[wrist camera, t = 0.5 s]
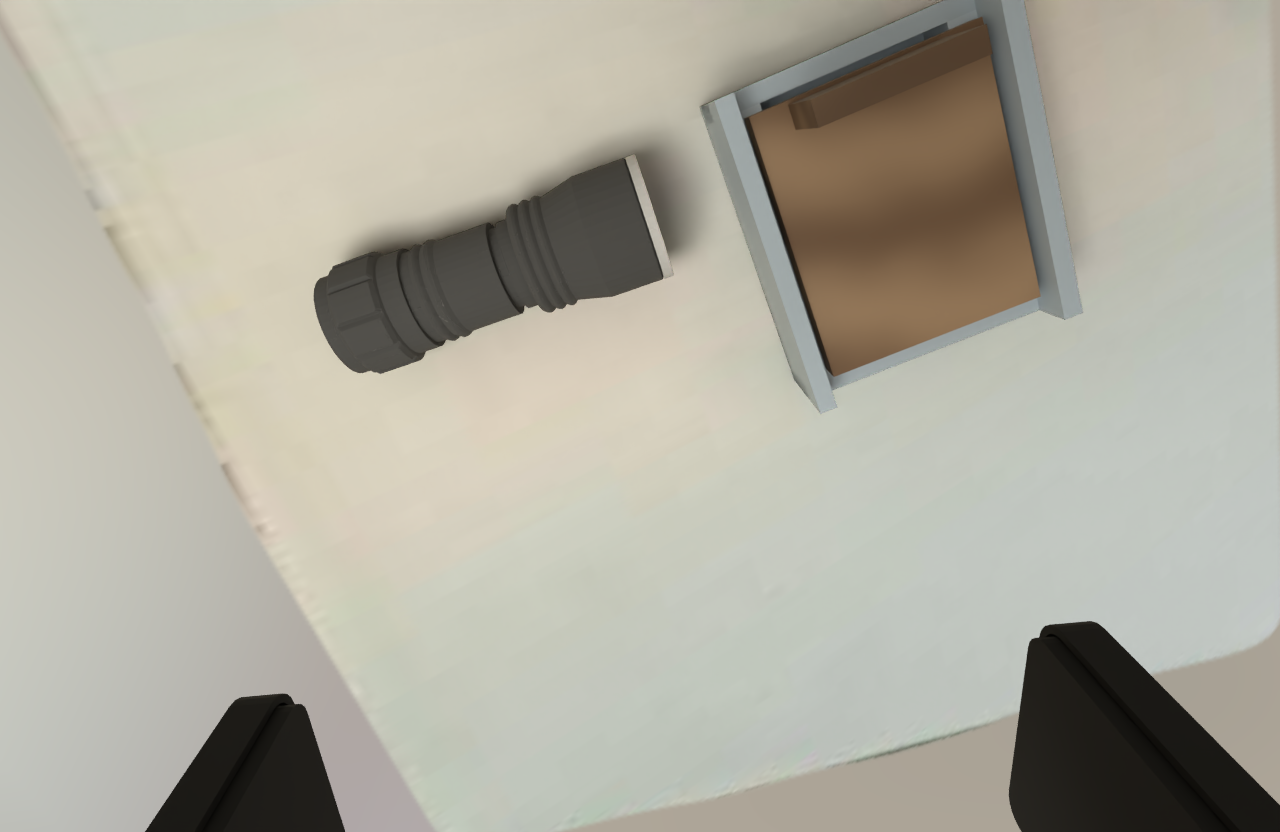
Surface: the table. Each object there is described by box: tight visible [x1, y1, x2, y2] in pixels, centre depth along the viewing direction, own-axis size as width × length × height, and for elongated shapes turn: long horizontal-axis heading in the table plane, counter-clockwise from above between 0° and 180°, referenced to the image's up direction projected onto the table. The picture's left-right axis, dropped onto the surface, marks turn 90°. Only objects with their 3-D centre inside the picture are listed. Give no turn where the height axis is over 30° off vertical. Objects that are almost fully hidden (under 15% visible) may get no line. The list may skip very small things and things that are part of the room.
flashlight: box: [314, 154, 674, 374], centre depth 33 cm, size 15×5×5 cm, turn 109°
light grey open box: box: [700, 0, 1083, 414], centre depth 32 cm, size 14×12×5 cm
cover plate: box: [744, 17, 1041, 377], centre depth 30 cm, size 12×10×5 cm
